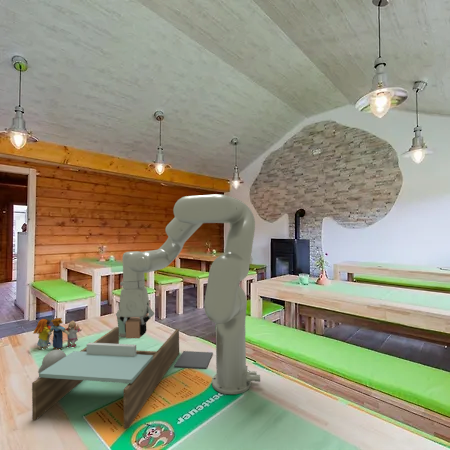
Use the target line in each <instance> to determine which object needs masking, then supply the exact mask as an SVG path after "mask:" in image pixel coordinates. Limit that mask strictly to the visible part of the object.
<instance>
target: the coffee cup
mask: <svg viewBox="0 0 450 450" xmlns="http://www.w3.org/2000/svg"><path fill="white" fill-rule="evenodd" d="M117 312H118V310H117V311H116V313H117ZM131 318H132V317H131ZM116 319H117V320H116V321H117V327H119V338H126V332H125V325H124V324H123V322H122V321H121V320H120V318H119V317H117V316H116Z"/></svg>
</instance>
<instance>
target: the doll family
mask: <svg viewBox="0 0 450 450" xmlns="http://www.w3.org/2000/svg"><path fill="white" fill-rule="evenodd" d="M62 319H63V318H62V317H56V318H54V319H51V320H49V318H42V319H40V320H39V321H38V322H37V325H36V327H35V329H34V330H33V332H32V334H36V335H38V341H37V343H36V344H37V346H39V348H38V350H39V349H41V348H43V349H46V348H48V347H49V345H48V344H50V345H51V344H52V347H53V348H52V349H53V350H54V349H55V350H59V349H61V348H63V349H64V347H63V346H64V345H63V344H64V343H63V342H64V339H63V338H64V337H63V334H64V333H65V334H66V336H67V337H66V338H67V345H66V348H67V347H68V348H71V347H74V348H76V347H77V346H76V345H77V344H76V343H77V342H78V341H79V339H78V335H77V333H79V332H82V328H80V325H79V324H77V323H76V321H74V320H71V321H70V322H69V323H68V326H67V327H63V326H61V324H63V322H64V321H63V320H62ZM51 323H52V326H51V325H50V324H51ZM52 334H53V336H52V343H51V342H50V337H51V335H52ZM71 345H72V346H71ZM69 346H71V347H69ZM75 346H76V347H75ZM56 348H57V349H56ZM48 349H49V348H48ZM41 350H42V349H41ZM46 350H47V349H46ZM61 350H62V349H61Z"/></svg>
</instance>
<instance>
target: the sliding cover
mask: <svg viewBox="0 0 450 450" xmlns="http://www.w3.org/2000/svg"><path fill="white" fill-rule="evenodd" d="M85 345H86V347H87V352H82V351H81V350H80V351H79V350H73V351H72V352H70V353H69V354H66V357H64V358H62V359H61V360H59V361H58V362H56V363H55V364H53V365H52V366H50V367H48V368H47V369H45V370H44V371H42V372H41V373H38V378H40V377H42V378H57V379H72V380H83V381H89V382H103V383H104V382H105V383H116V384H117V383H118V384H129V383H130V384H131V383H132V382H133V381H134V380H135V379H136V378H137V377H138V375H139V374H140V373H141V372H142V371H143V370H144V368H145V367H146V366H147V365H148V364H149V363H150V361H151V360H152V359H153V355H141V354H136V350H137V344H129V343H119V344H111V343H93V342H88V343H86V344H85ZM86 347H85V348H86Z"/></svg>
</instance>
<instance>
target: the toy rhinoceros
mask: <svg viewBox="0 0 450 450" xmlns="http://www.w3.org/2000/svg"><path fill="white" fill-rule="evenodd" d="M66 356H67V354H66V352H64V351H63V350H62V349H61V350H56V349H55V350H54V349H53V350H51V351H48V352H47V353H46V354H45V355H44V357H43V358H42V361H41V365H40V366H39V368H38V371H37V372H38V374H39V373H41V372H42V371H44V370H45V369H47V368H48V367H50V366H52V365H53V364H55V363H56V362H58V361H59V360H61V359H62V358H64V357H66Z"/></svg>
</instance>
